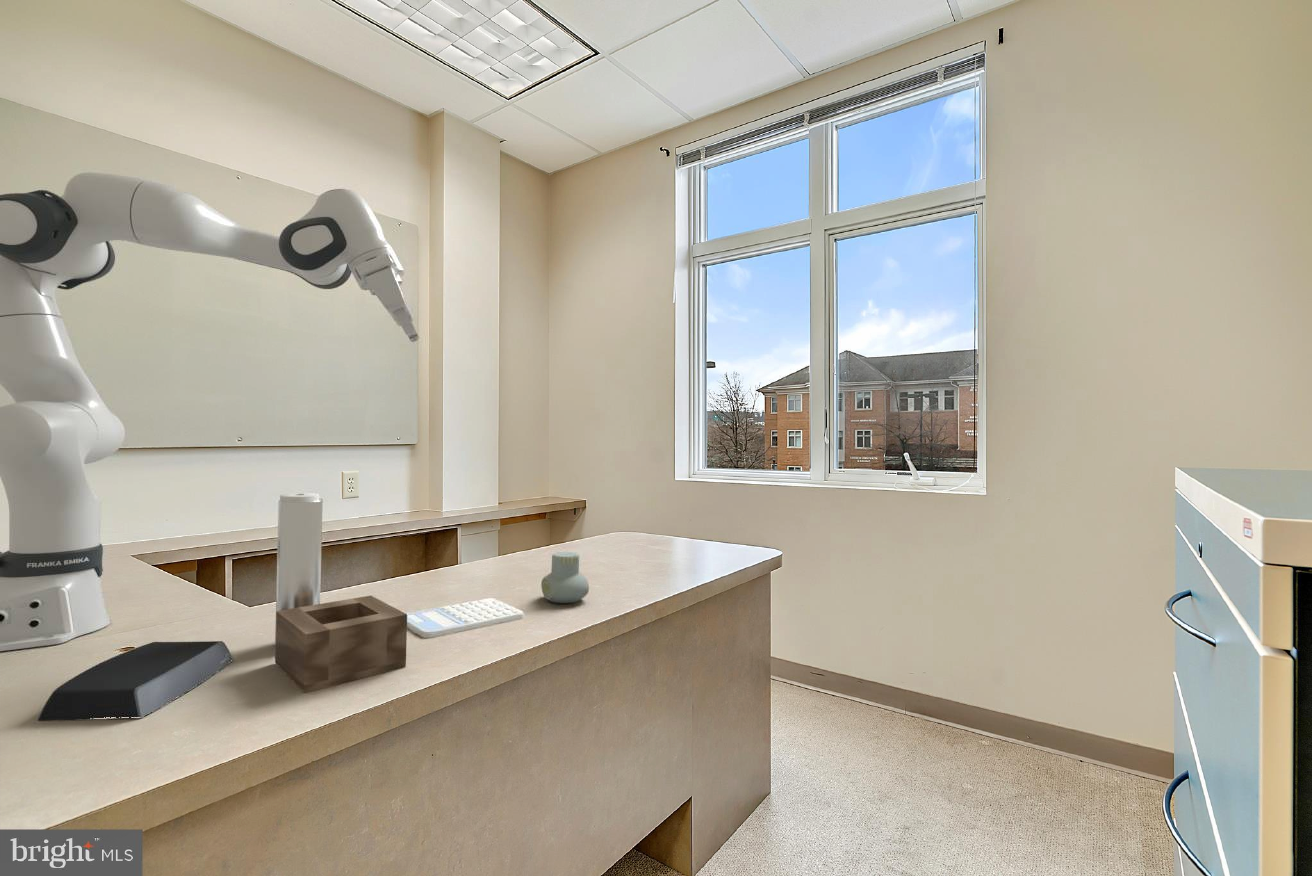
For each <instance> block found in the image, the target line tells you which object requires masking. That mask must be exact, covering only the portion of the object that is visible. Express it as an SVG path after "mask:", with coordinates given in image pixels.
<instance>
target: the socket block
mask: <svg viewBox="0 0 1312 876" xmlns="http://www.w3.org/2000/svg"><path fill="white" fill-rule="evenodd" d="M275 626H276V647H275V646H274V648H275V650H274V651H275V652H274V653H275V655H274V659H275V660H274V664H275V663H276V664H277V665H278V666H279V667H280V668H281V669H282V670H283V671H284V672H285V673H286V674H287V675H286V674H285V673H284V672H283V671H282V670H281V669H280V668H279V667H278V666H277V665H276V664H275V665H276V666H277V667H278V668H279V669H280V670H281V671H282V672H283V673H284V674H285V675H286V677H288V676H289V677H288V678H289V679H290V678H291V679H290V680H291V681H292V680H293V681H294V682H293V681H292V682H293V683H294V684H295V683H296V684H295V685H296V686H297V685H298V686H297V688H299V689H300V690H301V691H302V692H303V693H309V692H313V691H316V690H320V689H324V688H328V687H331V686H335V685H339V684H343V683H347V682H351V681H356V680H359V679H363V678H366V677H370V676H375V675H379V674H383V673H386V672H389V671H394V670H398V669H401V668H405V667H407V642H408V641H407V640H408V639H407V636H408V633H407V631H408V627H407V614H406V613H405V612H404V611H401V610H400V609H398V608H396V607H394V606H392V605H390V604H388V603H386V602H384V601H382V600H381V599H379V598H377V597H375V596H374V595H367V596H359V597H354V598H348V599H341V600H335V601H330V602H324V603H323V602H322V603H320V604H317V605H311V606H305V607H299V608H293V609H287V610H281V611H276V610H275ZM312 690H313V691H312Z"/></svg>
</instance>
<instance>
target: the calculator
mask: <svg viewBox="0 0 1312 876" xmlns="http://www.w3.org/2000/svg"><path fill="white" fill-rule="evenodd" d="M405 614H407V629H409V630H411V631H412V632H414V633H415V634H416V635H418V636H420V637H421V638H424V639H431V638H436V637H441V636H447V635H450V634H455V633H461V632H465V631H471V630H475V629H479V628H484V627H489V626H492V624H494V625H499V624H503V623H507V621H508V622H512V620H513V621H517V620H521V619H523V618H524V615H525V614H524V612H523V610H520V609H518V608H516V607H514V606H512V605H510V604H507V603H505V602H503V601H501V600H498V599H496V598H493V597H489V598H483V599H478V600H472V601H467V602H461V603H457V604H451V605H445V606H444V605H443V606H439V607H434V608H428V609H422V610H417V611H411V612H407V613H405ZM516 619H517V620H516ZM498 623H499V624H498Z"/></svg>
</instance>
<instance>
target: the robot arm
mask: <svg viewBox="0 0 1312 876" xmlns="http://www.w3.org/2000/svg"><path fill="white" fill-rule="evenodd" d="M64 188H65V189H64V192H63V194H62V195H61V196H59V195H58V194H56V193H54V192H52V191H49V190H46V189H39V190H34V191H29V192H17V193H16V192H15V193H4V194H0V386H1V387H2V388H3V389H4V390H5V391H7V393H8V394H9V396H11V398H12V399H13V400H14V402H15V403H9V404H6V405H3V406H0V479H1V483H2V485H3V487H4V492H5V494H6V498H7V504H8V513H9V515H8V517H9V518H8V519H9V521H8V523H9V525H8V528H9V529H8V531H9V532H8V534H9V535H8V536H9V537H8V539H9V540H8V541H9V542H8V548H9V549H8V550H6V551H4V552H3V551H0V652H3V651H5V652H6V651H11V650H13V651H15V650H20V649H28V648H35V647H45V646H53V645H59V644H62V643H65V642H68V641H70V640H72V639H74V638H76V637H80V636H83V635H85V634H86V635H87V634H89V633H92V632H96V631H98V630H101V629H103V628H105V627H107V626H108V625H109V624H110V623H111V619H110V615H109V613H108V611H107V608H106V604H105V599H104V595H103V589H102V582H101V576H102V575H103V572H104V566H105V565H104V564H105V561H104V559H105V555H104V553H105V551H104V546H103V544H102V543H101V501H100V500H101V499H100V497H99V496H98V495H97V494H96V493H95V492H94V491H93V489H92V487H91V484H90V482H89V479H88V476H87V472H86V468H85V467H86V466H85V465H86V464H87V465H88V464H93V463H96V462H98V461H99V462H100V460H104V459H106V458H107V457H109V456H111V455H113V454H114V453H116V452H117V451H118V450H119V449H120V448H121V446H122V445H123V443H124V441H125V438H126V430H125V427H124V424H123V422H122V420H120V418H119V417H118V416H117V415H116V414H114V412H113V411H111V410H110V409H109V408H108V406H107V405H106V403H104V401H103V400H102V398H101V396H100V394H99V393H98V392H97V390H96V388H95V387H94V385H93V384H92V382H91V381H90V379H89V378H88V376H87V375H86V373H85V371H84V369H83V368H82V365H81V364H80V361H79V360H78V357H77V355H76V352H75V350H74V347H73V344H72V341H71V339H70V336H69V333H68V331H67V327H66V325H65V323H64V320H63V316H62V314H61V311H60V308H59V306H58V304H57V300H56V291H57V289H60V290H71V289H74V288H76V287H78V286H81V285H82V284H85V283H90V282H93V281H96V280H98V279H101V278H103V277H104V276H106V275H107V274H108V273H110V271H111V270H112V269H113V268H114V265H115V262H116V253H115V251H114V250H115V249H114V248H113V246H112V244H111V243H110V241H111V242H112V241H123V242H124V241H126V242H130V243H134V244H137V245H138V244H139V245H143V246H146V247H147V246H148V247H153V248H158V249H163V250H168V251H169V250H171V251H175V252H185V253H192V254H200V255H207V256H214V257H223V258H228V259H229V258H230V259H233V260H239V261H242V262H248V263H252V264H255V265H260V266H264V267H268V268H273V269H276V270H281V271H285V272H288V273H291V274H293V275H294V276H297V277H299V278H300V279H302V280H303V281H305V282H306V283H308V284H310V286H313V287H315V288H317V289H320V290H333V289H336V288H339V287H341V286H342V285H344V284H346V283H347V281H348V280H349V278H350V277H351V274H352V275H353V278H354V279H355V281H356V283H357V285H358V286H359V288H360V290H363V291H369V292H370V295H372V296H376V298H377V299H378V300H379V302H380V303H381V304H382V306H383V307H384V308H385V310H386V311H387V313H388V314H389V315H390V316H391V318H392V320H393V321H394V322H395V323H396V325H397V326H399V327H401V328H402V330H403V331H404V334H405V335H406V336H407V337H408V339H409V341H410V342H411V343H415V342H418V341H419V340H420V337H419V334H418V333H417V331H416V329H415V326H414V324H413V321H414V319H415V318H414V315H413V313H412V311H411V309H410V308H409V305H408V304H407V302H406V300H405V297H404V294H403V291H402V289H401V286H402V284H403V280H402V276H403V275H404V274H405V270H404V268H403V265H402V263H401V262H400V260H399V258H398V256H397V254H396V252H395V251H394V248H393V246H391V245H390V244H389V242H388V241H387V239H386V238H385V235H384V231H383V228H382V226H381V224H380V222H379V220H378V218H377V217H376V215H375V213H374V211H373V210H372V208H371V207H370V205H369V204H368V203H367V201H366V199H364V197H363V196H362V195H360V193H358V192H356V191H354V190H351V189H345V188H337V189H330V190H328V191H325V192H323V193H321V194H320V195H319V196H318V197H317V199H316V201H315V202H314V204H313V206H312V207H311V209H309V211H308V212H307V213H306V214H305V215H303V216H301V217H300V218H299V219H297V220H296V221H294V222H291V223H290V224H288V225H287V226H285V227H284V228H283V230H282V231H281V232H280V235H279V236H278V235H274V234H270V233H268V232H263V231H259V230H256V229H252V228H249V227H246V226H243V225H241V224H239V223H238V222H237V221H234V220H231V218H228V217H227V216H225V215H223V214H222V213H221V212H219V211H217V210H216V209H215V208H213V207H211V206H210V205H209V204H208V203H206V202H204V201H203V200H202V199H200V198H198V197H197V196H194V195H193V194H190V193H187V192H185V191H183V190H180V189H178V188H175V187H173V186H169V185H166V184H163V183H159V182H155V181H152V180H151V181H150V180H147V179H141V178H139V177H138V178H137V177H133V176H127V175H120V174H119V175H118V174H111V173H103V172H102V173H100V172H81V173H78V174H76V175H74V176H72V178H71V179H69V180H68V182H67V184H66V186H65V187H64Z"/></svg>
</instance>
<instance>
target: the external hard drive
mask: <svg viewBox="0 0 1312 876" xmlns="http://www.w3.org/2000/svg"><path fill="white" fill-rule="evenodd" d="M231 660H232V661H233V660H234V658H233V656H232V654H231V652H230V649H229V648H228V646H227V645H226V643H225V642H224V641H222V640H217V641H216V640H212V641H210V640H209V641H206V640H205V641H203V640H201V641H152V642H149V643H147V644H143V645H141V646H138V647H134V648H132V649H130V650H127V651H125V652H123V653H120V654H118V655H114V656H113V657H111V658H108V659H106V660H104V661H102V662H99V663H98V664H95V665H93V666H91V667H90V668H88V669H86V670H84V671H83V672H81V673H79V674H77V675H75V676H74V677H71V678H70V679H69V680H66V681H65V682H64V683H63V684H61V685H59V686H58V687H57V688H55V690H53V691H52V693H51V694H50V695H49V697H48V698H47V701H46V702H45V703H44V705H43V708H42V709H41V712H40V714H39V716H38V718H37V721H38V722H44V721H45V722H46V721H47V722H50V721H51V722H52V720H53V721H55V720H57V721H76V720H75V719H90V718H92V719H93V718H104V717H105V718H106V717H110V718H111V717H116V718H119V717H120V718H121V717H129V718H131V717H143V716H145V715H147V714H149V715H151V714H152V713H151V712H153V713H155V712H156V711H158V710H159V709H158V708H160V709H162V708H163V707H162V706H164V705H165V706H167V705H168V704H167V703H169V702H170V701H172V700H173V699H175V698H176V697H178V696H181V695H182V694H184V693H185V692H187V691H188V690H190V689H192V688H193V687H195V686H196V685H198V684H199V683H201V682H202V681H204V680H205V679H207V678H209V677H210V676H212V675H213V674H215V673H216V672H217V671H219V670H220V669H221V670H222V668H223V667H224V666H225V665H227V664H228V663H229V662H230V663H232V661H231ZM230 663H229V664H230ZM229 664H228V665H229ZM228 665H227V666H228ZM225 667H226V666H225ZM225 667H224V668H225ZM224 668H223V669H224ZM221 670H220V671H221ZM220 671H219V672H220ZM217 673H218V672H217ZM217 673H216V674H217ZM216 674H215V675H216ZM213 676H214V675H213ZM213 676H212V677H213ZM210 678H211V677H210ZM210 678H209V679H210ZM207 680H208V679H207ZM204 682H205V681H204ZM201 684H202V683H201ZM198 686H199V685H198ZM195 688H196V687H195ZM192 690H193V689H192ZM190 691H191V690H190ZM187 693H188V692H187ZM184 695H185V694H184ZM182 696H183V695H182ZM182 696H181V697H182ZM172 702H173V701H172ZM166 704H167V705H166ZM169 704H170V703H169ZM165 706H164V707H165ZM161 707H162V708H161ZM157 709H158V710H157ZM155 710H156V711H155ZM154 711H155V712H154ZM150 713H151V714H150ZM147 716H148V715H147ZM145 717H146V716H145ZM143 718H144V717H143Z"/></svg>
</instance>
